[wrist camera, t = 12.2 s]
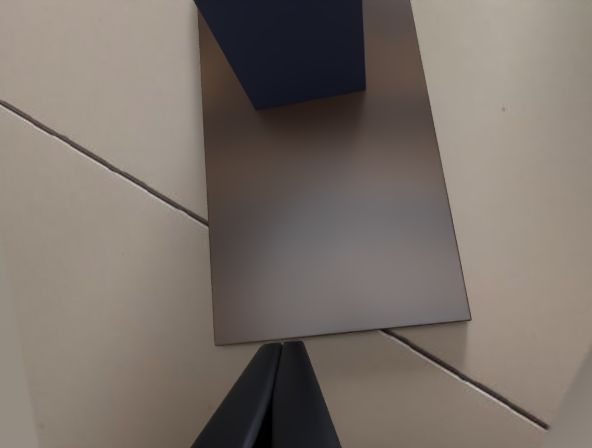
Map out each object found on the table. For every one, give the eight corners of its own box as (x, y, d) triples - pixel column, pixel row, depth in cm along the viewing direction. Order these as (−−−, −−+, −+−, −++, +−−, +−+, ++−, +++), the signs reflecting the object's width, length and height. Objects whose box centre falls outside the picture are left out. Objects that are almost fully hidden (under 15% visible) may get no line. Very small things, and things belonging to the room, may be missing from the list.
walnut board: (468, 320, 20) (472, 320, 19) (220, 345, 22) (214, 346, 21) (394, -64, 25) (395, -77, 24) (200, -19, 27) (195, -29, 26)
